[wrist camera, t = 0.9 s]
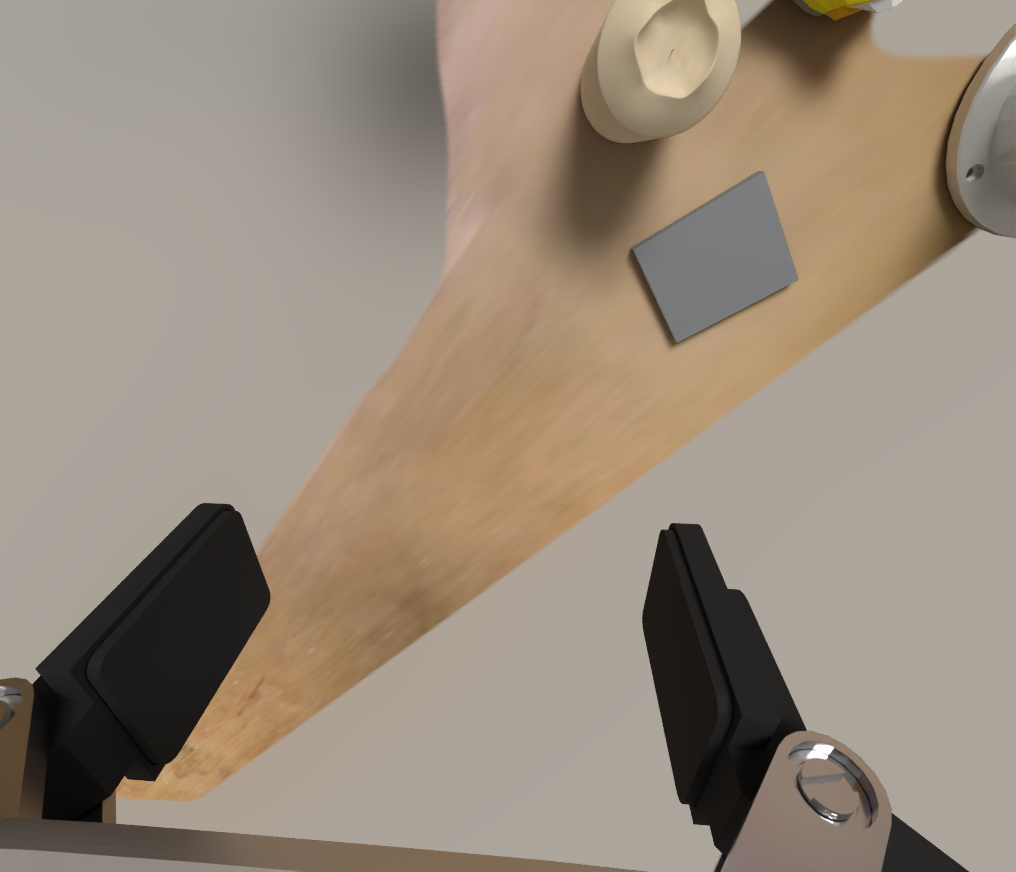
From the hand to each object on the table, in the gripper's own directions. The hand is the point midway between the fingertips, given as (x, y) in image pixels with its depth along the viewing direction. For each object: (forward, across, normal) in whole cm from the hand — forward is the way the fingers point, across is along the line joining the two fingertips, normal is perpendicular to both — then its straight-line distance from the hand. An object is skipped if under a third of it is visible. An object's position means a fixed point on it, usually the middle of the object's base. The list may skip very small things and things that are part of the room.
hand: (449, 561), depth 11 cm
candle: (+25, -6, -11) cm, 28 cm away
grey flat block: (+25, -13, -2) cm, 28 cm away
